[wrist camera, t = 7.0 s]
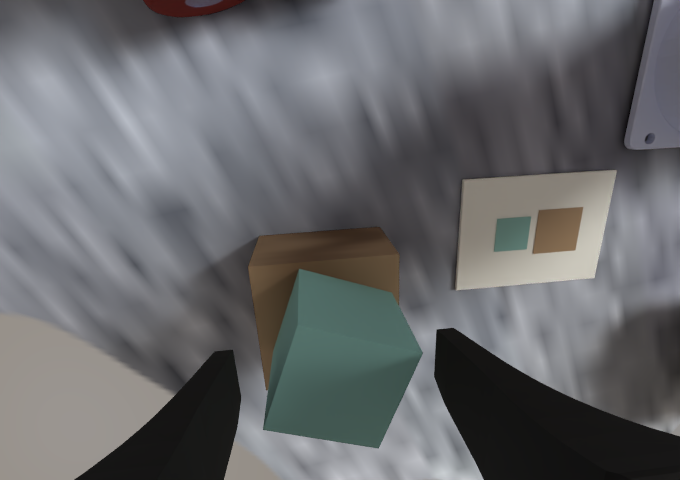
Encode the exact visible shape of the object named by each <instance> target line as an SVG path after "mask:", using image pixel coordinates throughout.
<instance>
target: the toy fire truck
mask: <svg viewBox="0 0 680 480" xmlns="http://www.w3.org/2000/svg"><path fill="white" fill-rule="evenodd" d="M143 1H144V2H145V4H146V5H147V6H148V7H149V8H150V9H151V10H153V11H154V12H156V13H159V14H162V15H167V16H172V17H193V16H202V15H207V14H212V13H216V12H219V11H222V10H226V9H228V8H230V7H233V6H235V5H237V4H240V3H242V2H243V1H245V0H143Z"/></svg>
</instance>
